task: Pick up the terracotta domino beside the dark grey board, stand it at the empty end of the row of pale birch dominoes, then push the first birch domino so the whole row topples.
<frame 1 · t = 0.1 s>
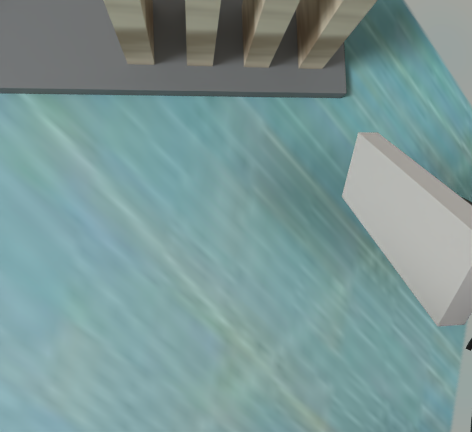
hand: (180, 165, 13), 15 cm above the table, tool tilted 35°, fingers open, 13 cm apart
domino 3: (198, 34, 28), point 1 cm above the table, touching domino board
domino board: (148, 39, 28), on the table
domino 1: (309, 38, 29), point 1 cm above the table, touching domino board
domino 2: (255, 36, 28), point 1 cm above the table, touching domino board
domino 4: (140, 32, 27), point 1 cm above the table, touching domino board
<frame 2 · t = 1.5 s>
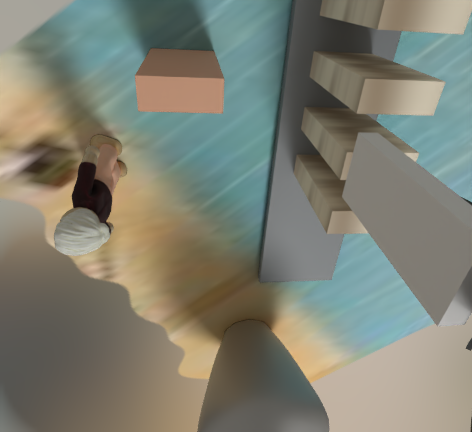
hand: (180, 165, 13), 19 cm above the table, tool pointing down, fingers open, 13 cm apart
domino 3: (329, 118, 32), point 1 cm above the table, touching domino board
vase: (247, 334, 49), on the table
grandmother figurine: (110, 162, 33), on the table
domino board: (317, 155, 35), on the table
domino 1: (353, 2, 27), point 1 cm above the table, touching domino board
domino 2: (340, 65, 29), point 1 cm above the table, touching domino board
domino 5: (183, 63, 29), on the table
domino 4: (320, 164, 34), point 1 cm above the table, touching domino board
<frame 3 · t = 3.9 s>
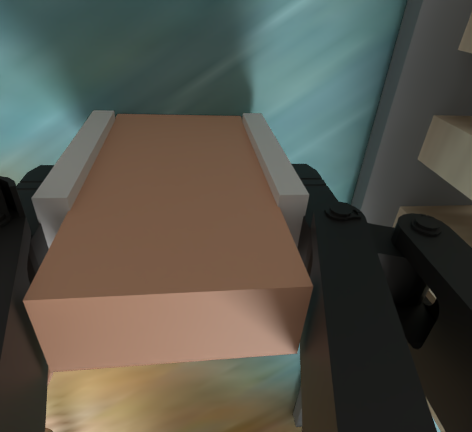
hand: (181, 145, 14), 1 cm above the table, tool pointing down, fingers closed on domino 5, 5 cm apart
domino 3: (439, 222, 18), point 1 cm above the table, touching domino board
domino board: (404, 267, 21), on the table
domino 5: (181, 138, 15), on the table, touching gripper
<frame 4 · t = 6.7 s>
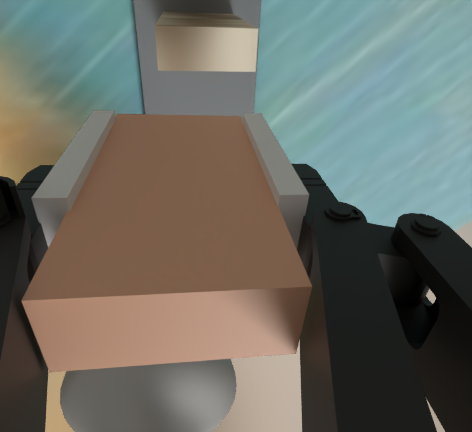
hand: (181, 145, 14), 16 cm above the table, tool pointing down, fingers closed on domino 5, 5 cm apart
vase: (159, 283, 41), on the table
domino board: (198, 19, 26), on the table
domino 5: (180, 138, 15), point 16 cm above the table, touching gripper
domino 4: (199, 28, 26), point 1 cm above the table, touching domino board
when the fingers open (3 cm above the table, at t = 9.9 s): domino 5 stays where it is, resting on domino board.
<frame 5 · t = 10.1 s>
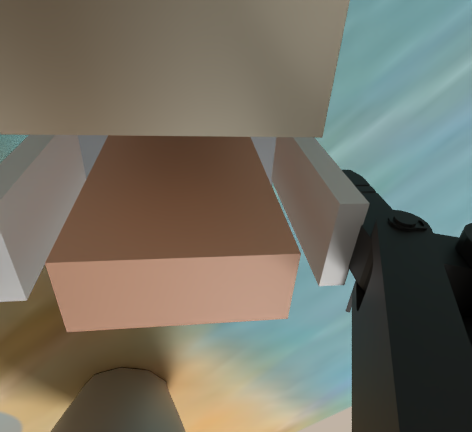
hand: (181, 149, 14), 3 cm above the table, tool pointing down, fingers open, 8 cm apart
vase: (126, 389, 28), on the table
domino 5: (182, 130, 16), point 1 cm above the table, touching domino board
domino 4: (177, 15, 13), point 1 cm above the table, touching domino board
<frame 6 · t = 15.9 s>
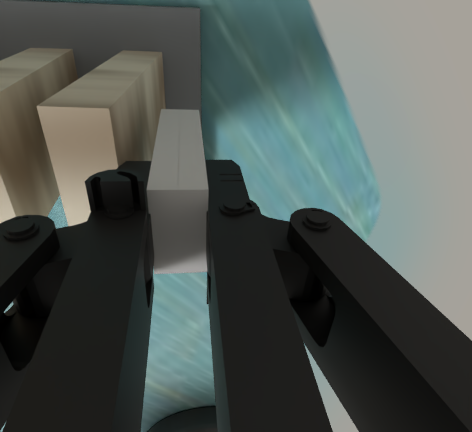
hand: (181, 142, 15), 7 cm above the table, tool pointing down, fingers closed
domino 1: (147, 100, 20), point 1 cm above the table, tilted 6°, touching domino board
domino 2: (62, 98, 19), point 1 cm above the table, touching domino board
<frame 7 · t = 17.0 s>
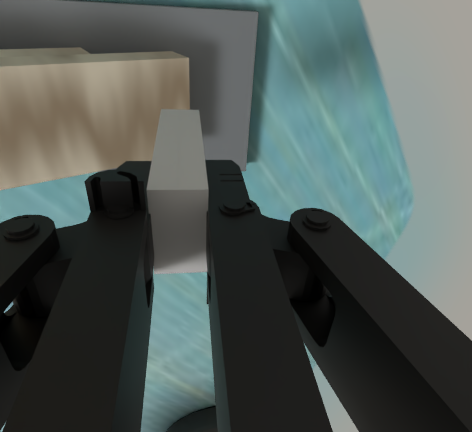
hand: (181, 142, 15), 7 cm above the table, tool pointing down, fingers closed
domino 1: (181, 104, 19), point 2 cm above the table, tilted 64°, touching domino 2, domino board
domino 2: (93, 102, 18), point 2 cm above the table, tilted 64°, touching domino 1, domino 3
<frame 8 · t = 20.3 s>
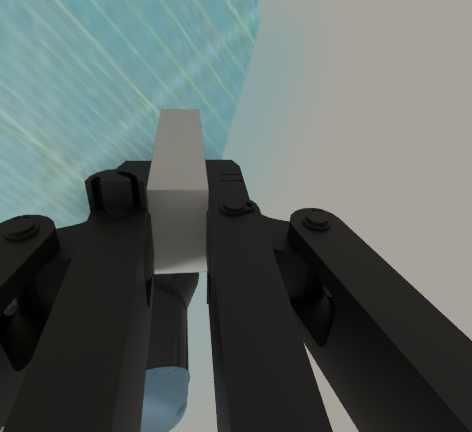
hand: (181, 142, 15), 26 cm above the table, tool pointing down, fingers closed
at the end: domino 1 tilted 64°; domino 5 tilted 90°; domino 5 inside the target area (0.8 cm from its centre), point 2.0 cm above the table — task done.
